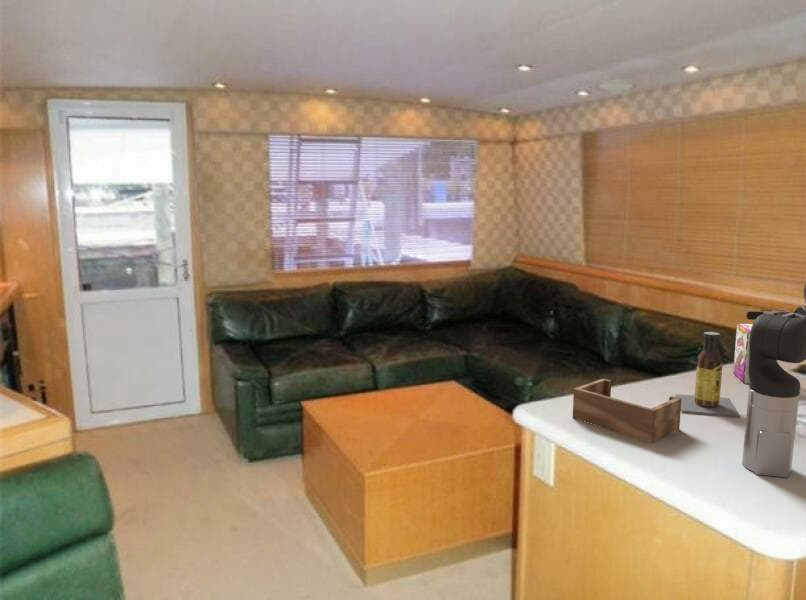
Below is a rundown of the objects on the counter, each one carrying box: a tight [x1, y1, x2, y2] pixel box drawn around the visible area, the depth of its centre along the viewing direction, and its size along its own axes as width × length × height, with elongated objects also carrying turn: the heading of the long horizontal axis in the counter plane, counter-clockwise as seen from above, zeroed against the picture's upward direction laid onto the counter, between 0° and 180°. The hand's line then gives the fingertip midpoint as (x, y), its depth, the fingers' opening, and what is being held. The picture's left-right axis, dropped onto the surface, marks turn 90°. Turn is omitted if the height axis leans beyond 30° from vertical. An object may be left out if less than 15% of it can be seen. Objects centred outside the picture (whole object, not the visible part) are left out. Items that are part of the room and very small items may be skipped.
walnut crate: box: [572, 377, 682, 444], centre depth 163 cm, size 13×22×8 cm, turn 40°
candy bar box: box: [732, 323, 753, 385], centre depth 198 cm, size 11×5×16 cm, turn 168°
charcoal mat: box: [674, 393, 741, 419], centre depth 176 cm, size 14×14×1 cm
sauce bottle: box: [694, 331, 724, 407], centre depth 174 cm, size 7×6×20 cm
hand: (753, 318), depth 170 cm, fingers open, 8 cm apart
